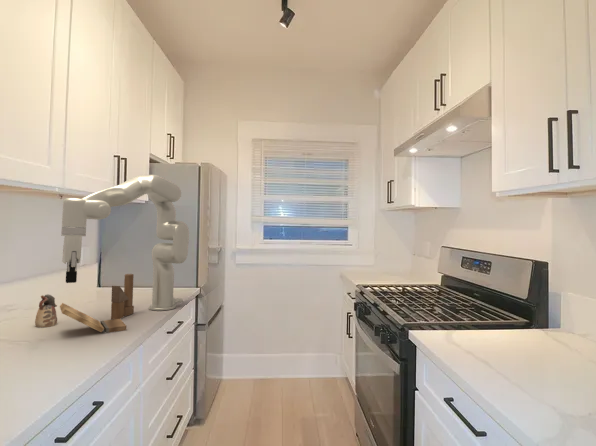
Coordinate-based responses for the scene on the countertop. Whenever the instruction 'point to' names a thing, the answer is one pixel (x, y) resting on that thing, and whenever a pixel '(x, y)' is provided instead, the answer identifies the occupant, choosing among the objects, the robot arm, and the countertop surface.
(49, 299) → the figurine
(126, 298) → the wooden block stack
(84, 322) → the oak plank
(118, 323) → the brown flat block
